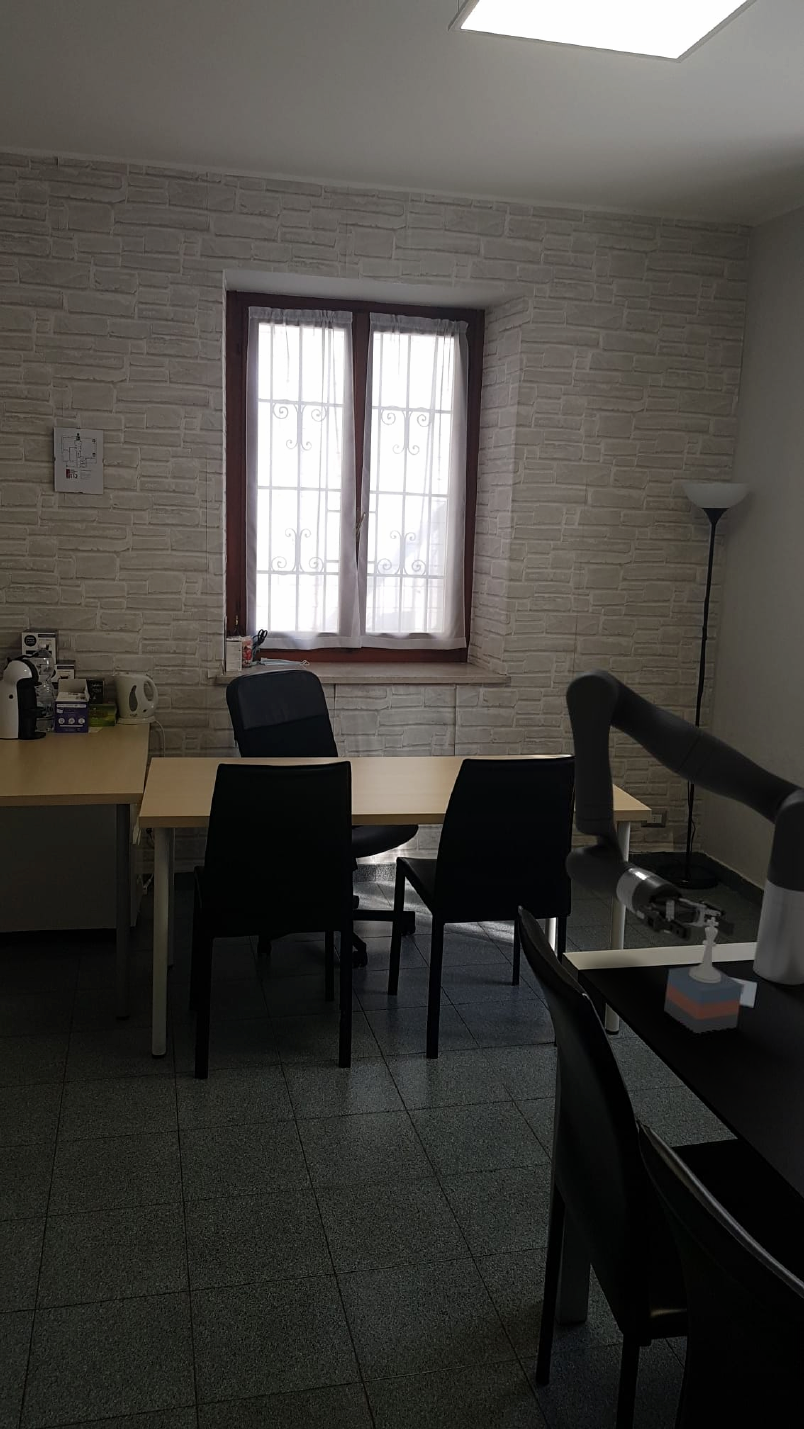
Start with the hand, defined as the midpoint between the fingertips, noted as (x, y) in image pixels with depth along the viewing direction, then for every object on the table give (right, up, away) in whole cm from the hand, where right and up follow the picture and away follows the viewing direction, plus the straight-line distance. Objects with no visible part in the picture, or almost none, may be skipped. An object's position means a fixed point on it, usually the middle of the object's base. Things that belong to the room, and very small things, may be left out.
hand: (710, 932), depth 169 cm
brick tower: (-1, -14, +3) cm, 15 cm away
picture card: (+8, -13, +14) cm, 20 cm away
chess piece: (-1, -8, +1) cm, 8 cm away
